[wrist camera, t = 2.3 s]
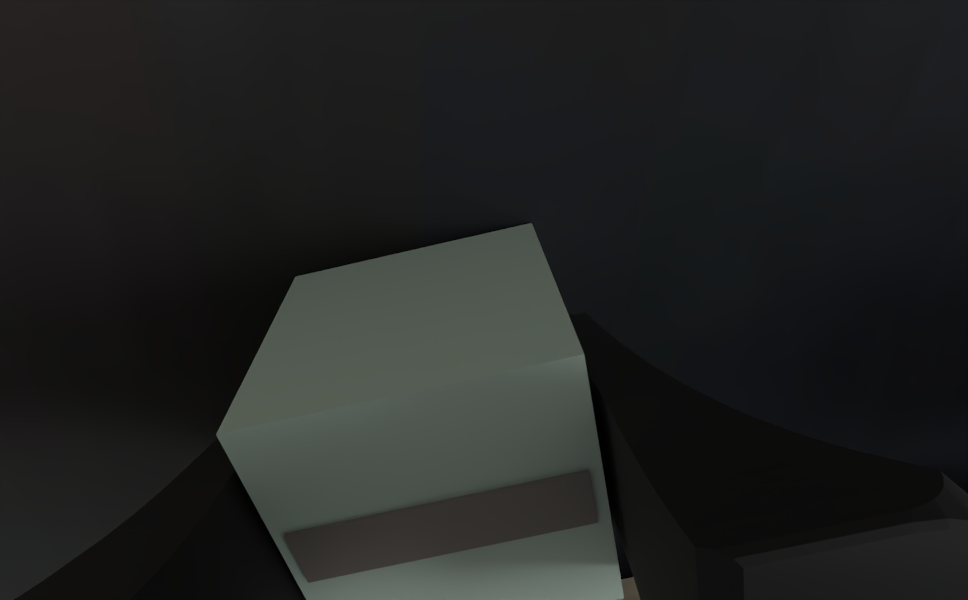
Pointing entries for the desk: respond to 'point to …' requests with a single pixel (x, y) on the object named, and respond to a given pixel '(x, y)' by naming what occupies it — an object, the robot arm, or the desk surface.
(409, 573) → the sage cube
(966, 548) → the robot arm
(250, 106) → the desk surface
